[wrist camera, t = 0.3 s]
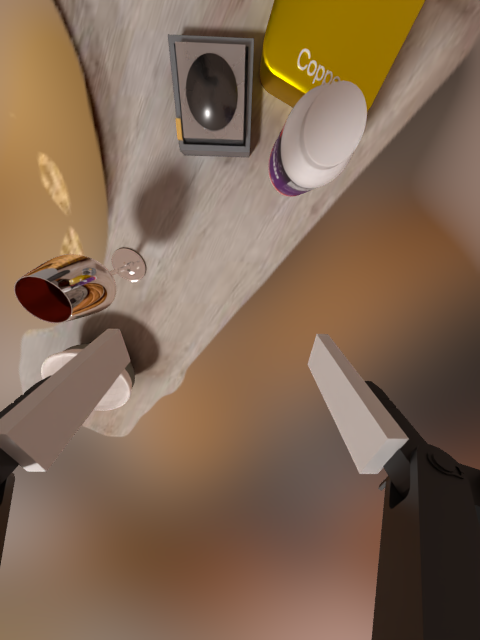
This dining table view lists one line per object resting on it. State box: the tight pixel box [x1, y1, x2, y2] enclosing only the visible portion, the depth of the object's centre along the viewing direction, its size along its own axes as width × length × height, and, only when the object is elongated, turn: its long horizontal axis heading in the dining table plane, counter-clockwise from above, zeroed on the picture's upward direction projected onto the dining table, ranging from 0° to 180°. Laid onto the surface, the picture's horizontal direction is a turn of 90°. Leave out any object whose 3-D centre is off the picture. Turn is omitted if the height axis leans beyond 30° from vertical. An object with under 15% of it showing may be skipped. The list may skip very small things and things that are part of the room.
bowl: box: [41, 344, 135, 410], centre depth 44 cm, size 19×19×8 cm
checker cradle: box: [168, 35, 254, 157], centre depth 24 cm, size 10×10×3 cm
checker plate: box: [175, 42, 245, 145], centre depth 23 cm, size 8×8×2 cm
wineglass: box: [14, 248, 146, 323], centre depth 28 cm, size 8×8×18 cm
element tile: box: [260, 0, 425, 112], centre depth 21 cm, size 15×15×5 cm
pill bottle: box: [268, 81, 367, 196], centre depth 22 cm, size 8×8×14 cm
